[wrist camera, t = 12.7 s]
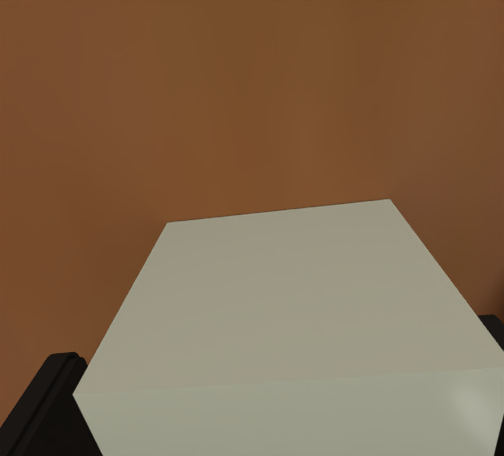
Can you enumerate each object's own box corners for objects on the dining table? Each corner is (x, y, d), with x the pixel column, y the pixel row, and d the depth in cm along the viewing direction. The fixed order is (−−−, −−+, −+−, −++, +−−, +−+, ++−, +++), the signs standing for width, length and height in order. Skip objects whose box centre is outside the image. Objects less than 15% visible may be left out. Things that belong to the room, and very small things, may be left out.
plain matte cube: (389, 199, 10) (514, 366, 5) (385, 366, 13) (462, 586, 8) (167, 222, 11) (72, 394, 6) (207, 377, 14) (169, 588, 9)
